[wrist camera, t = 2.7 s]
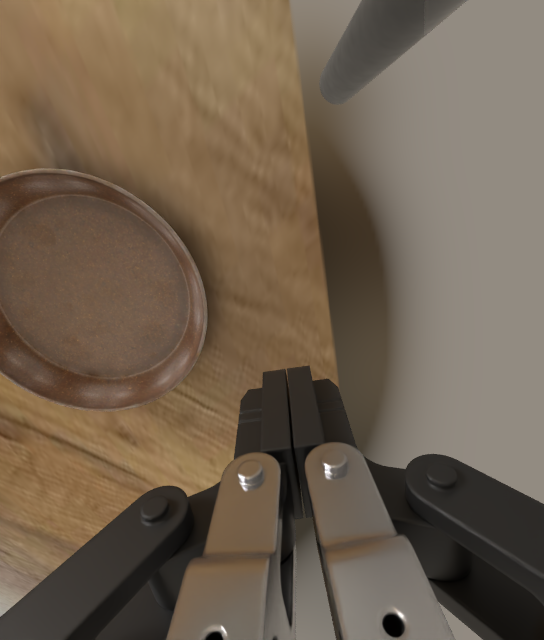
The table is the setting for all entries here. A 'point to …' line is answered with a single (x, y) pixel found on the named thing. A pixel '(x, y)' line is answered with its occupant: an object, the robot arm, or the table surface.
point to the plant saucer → (93, 293)
